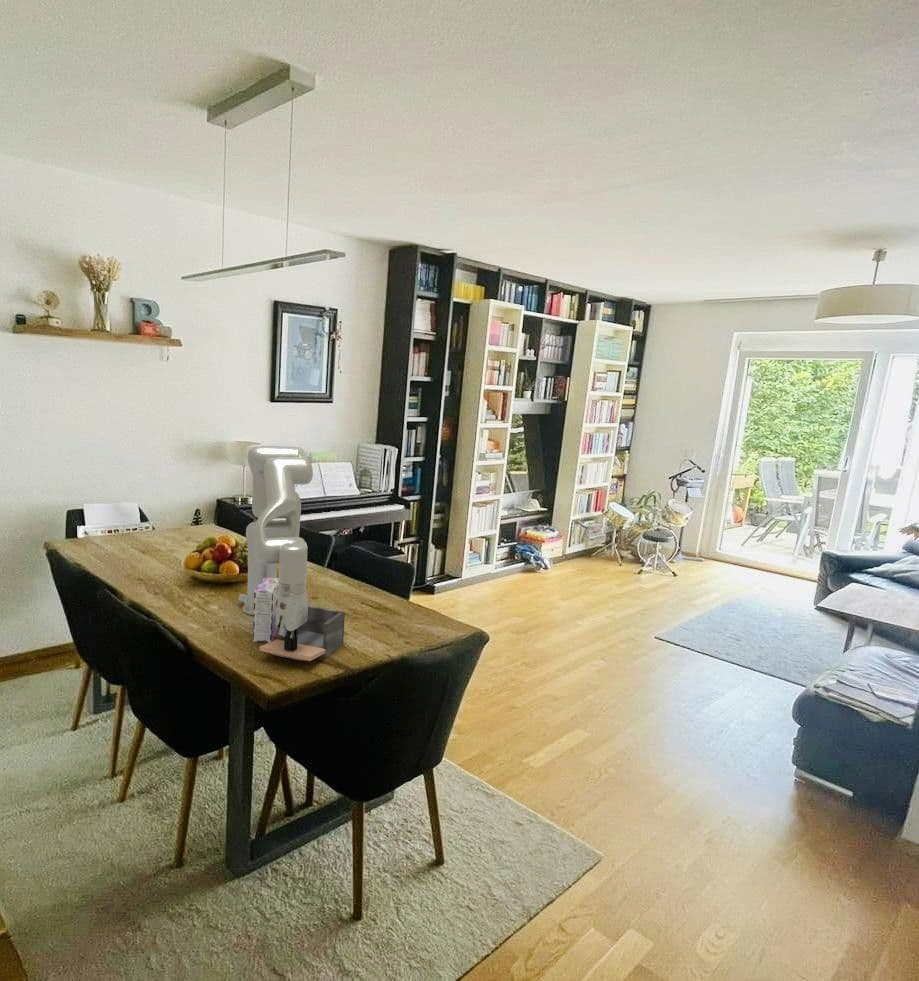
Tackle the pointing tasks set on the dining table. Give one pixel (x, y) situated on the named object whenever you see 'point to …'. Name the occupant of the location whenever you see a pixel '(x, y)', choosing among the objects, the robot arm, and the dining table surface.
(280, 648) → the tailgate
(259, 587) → the candy box
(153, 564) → the dining table surface
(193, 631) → the dining table surface
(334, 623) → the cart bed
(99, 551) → the dining table surface
